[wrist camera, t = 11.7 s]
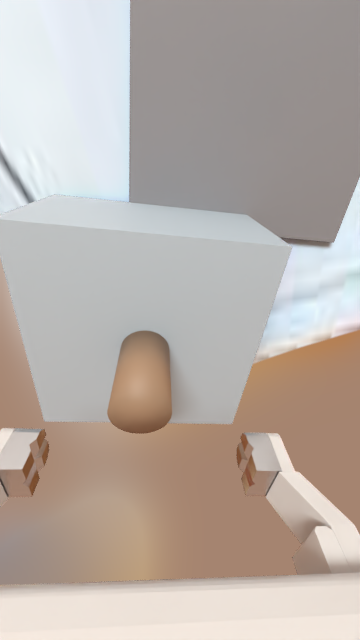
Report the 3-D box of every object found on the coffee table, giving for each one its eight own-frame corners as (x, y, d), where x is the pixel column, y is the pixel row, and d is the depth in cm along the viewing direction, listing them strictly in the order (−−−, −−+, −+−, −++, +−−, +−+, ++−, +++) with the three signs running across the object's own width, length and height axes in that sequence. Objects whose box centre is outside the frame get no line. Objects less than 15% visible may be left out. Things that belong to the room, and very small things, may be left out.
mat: (432, -27, 16) (442, -34, 15) (329, 240, 24) (333, 242, 23) (131, -97, 14) (130, -107, 13) (129, 221, 22) (129, 223, 21)
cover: (246, 214, 21) (348, 286, 10) (214, 356, 29) (248, 487, 18) (54, 194, 20) (-100, 251, 8) (75, 350, 28) (13, 490, 16)
